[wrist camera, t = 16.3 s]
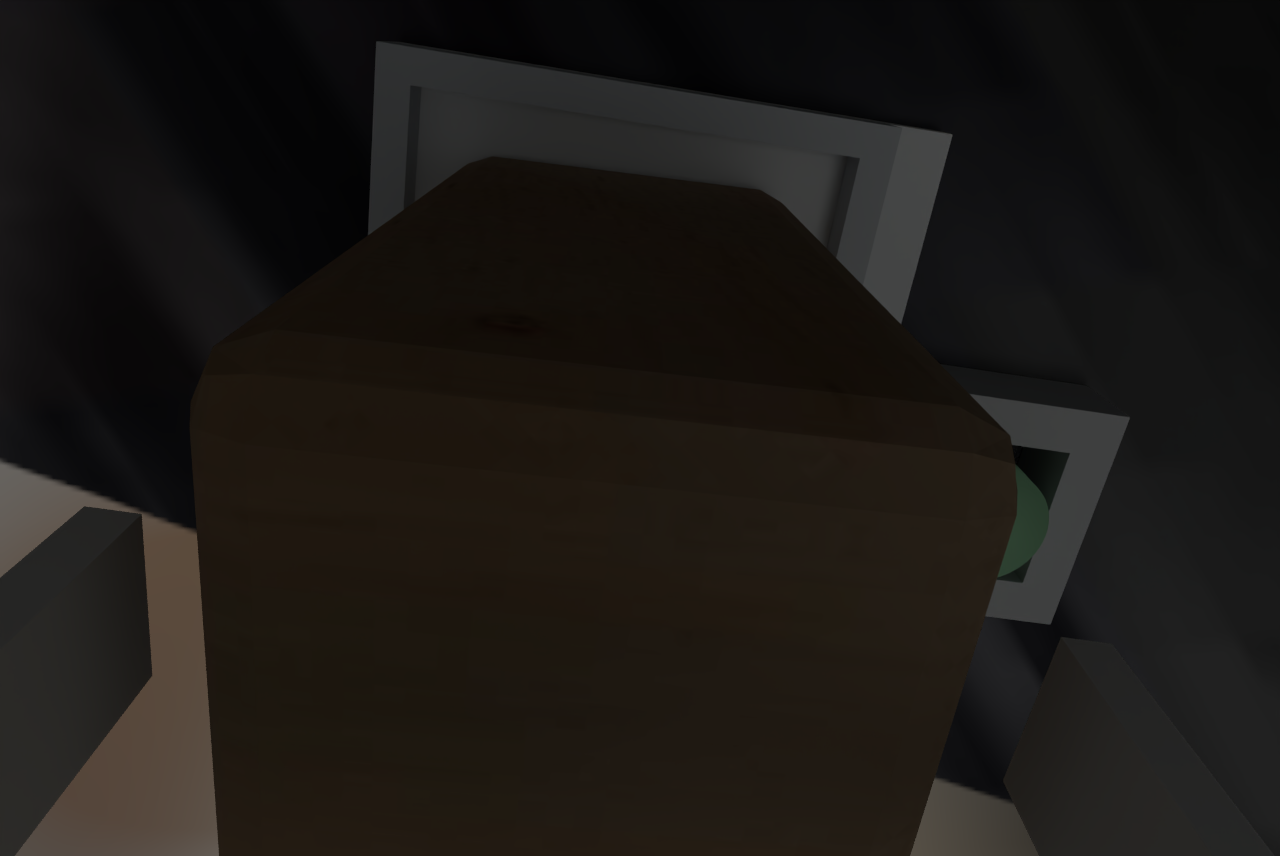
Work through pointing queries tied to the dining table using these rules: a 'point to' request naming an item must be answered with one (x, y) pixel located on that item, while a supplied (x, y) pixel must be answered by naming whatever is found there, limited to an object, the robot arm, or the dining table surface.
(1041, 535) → the button
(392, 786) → the wooden block
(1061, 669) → the robot arm
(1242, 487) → the dining table surface
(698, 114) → the shallow gray rectangular tray
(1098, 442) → the button housing
